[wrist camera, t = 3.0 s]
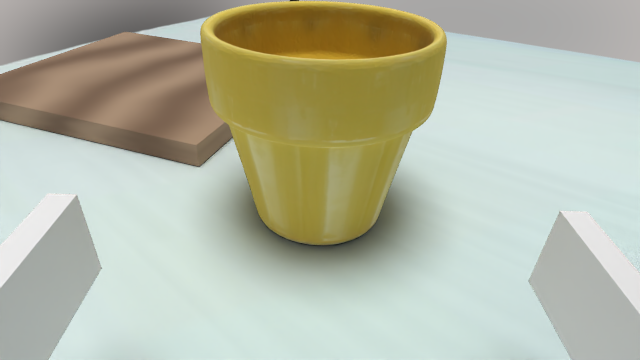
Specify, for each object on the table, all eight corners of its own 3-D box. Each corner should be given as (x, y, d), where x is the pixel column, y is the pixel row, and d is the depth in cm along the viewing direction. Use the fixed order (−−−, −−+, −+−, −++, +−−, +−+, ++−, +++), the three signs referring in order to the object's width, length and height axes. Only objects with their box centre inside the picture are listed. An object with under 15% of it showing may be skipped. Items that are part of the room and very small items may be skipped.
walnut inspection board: (303, 74, 40) (303, 59, 40) (199, 166, 26) (196, 145, 25) (128, 46, 45) (125, 31, 45) (-40, 110, 31) (-49, 90, 30)
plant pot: (213, 166, 26) (195, -3, 21) (370, 150, 29) (389, -4, 23) (229, 293, 18) (205, 68, 13) (446, 255, 20) (504, 54, 15)
